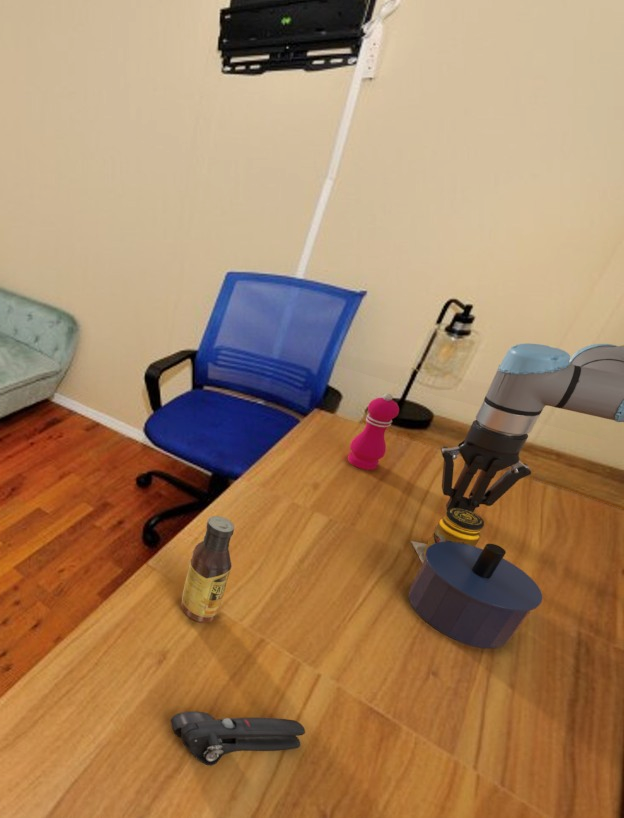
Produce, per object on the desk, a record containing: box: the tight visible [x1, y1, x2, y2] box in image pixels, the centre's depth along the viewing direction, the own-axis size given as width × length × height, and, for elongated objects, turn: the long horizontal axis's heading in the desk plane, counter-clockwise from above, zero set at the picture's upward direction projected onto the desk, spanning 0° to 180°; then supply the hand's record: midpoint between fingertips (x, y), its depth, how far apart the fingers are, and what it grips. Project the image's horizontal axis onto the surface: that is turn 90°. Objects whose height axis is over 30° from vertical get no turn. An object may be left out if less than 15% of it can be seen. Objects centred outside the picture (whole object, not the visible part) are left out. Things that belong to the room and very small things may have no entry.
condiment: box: [410, 508, 485, 565], centre depth 97 cm, size 7×8×12 cm
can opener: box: [170, 711, 306, 766], centre depth 70 cm, size 18×7×6 cm, turn 90°
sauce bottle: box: [180, 515, 235, 624], centre depth 86 cm, size 7×6×20 cm
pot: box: [407, 559, 532, 649], centre depth 87 cm, size 14×14×10 cm
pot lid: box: [425, 542, 543, 612], centre depth 83 cm, size 15×15×7 cm
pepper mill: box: [347, 393, 400, 471], centre depth 125 cm, size 7×7×20 cm
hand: (451, 525), depth 103 cm, fingers closed
